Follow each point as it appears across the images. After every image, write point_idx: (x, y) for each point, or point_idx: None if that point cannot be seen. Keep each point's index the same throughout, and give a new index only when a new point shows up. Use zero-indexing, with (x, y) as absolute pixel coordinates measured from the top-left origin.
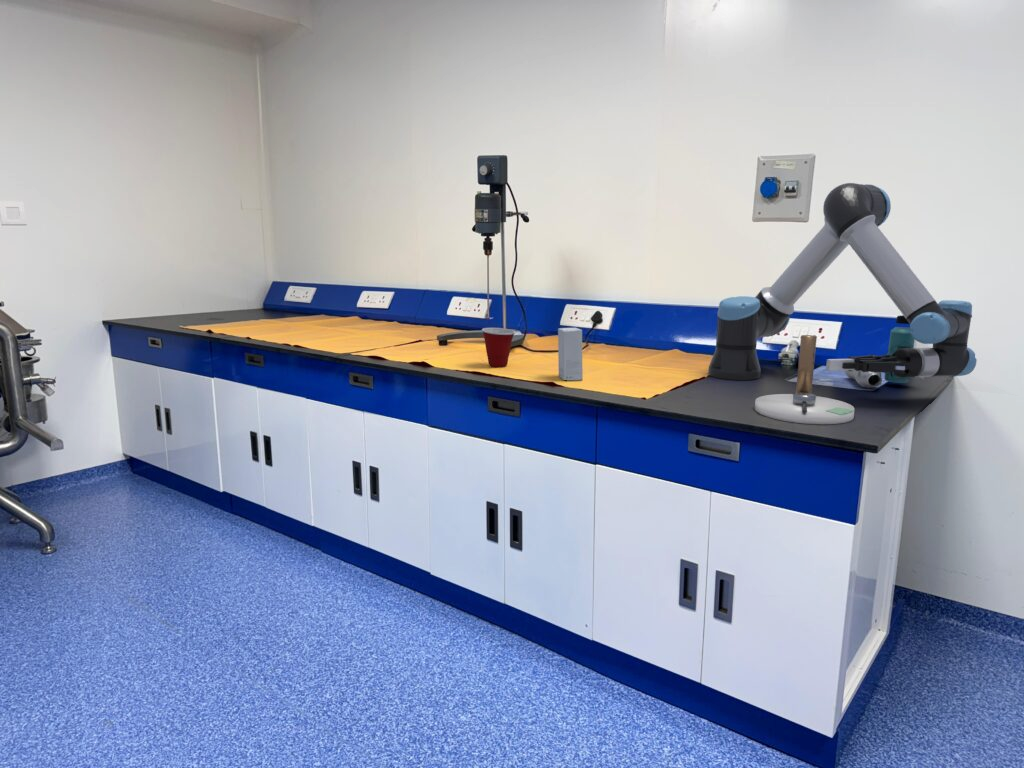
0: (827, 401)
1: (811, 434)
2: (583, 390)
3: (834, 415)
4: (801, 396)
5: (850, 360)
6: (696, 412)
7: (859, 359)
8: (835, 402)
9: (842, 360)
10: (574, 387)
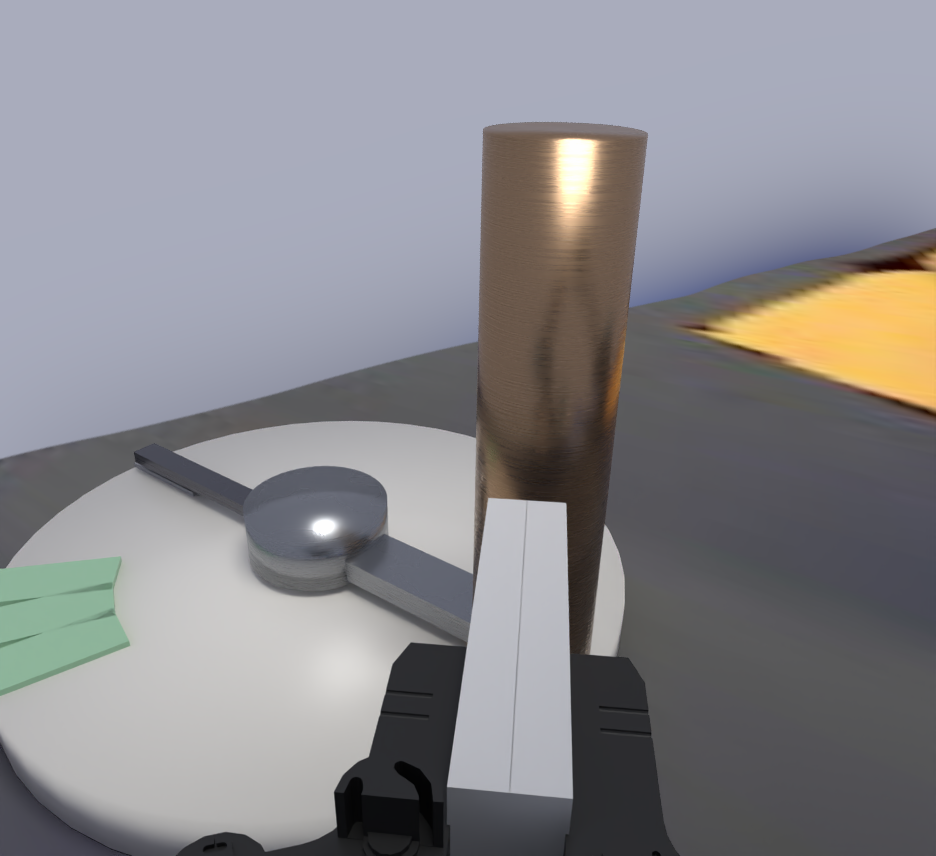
0: (313, 711)
1: (14, 458)
2: (814, 283)
3: (22, 548)
4: (288, 473)
5: (456, 727)
6: (477, 356)
7: (342, 807)
8: (255, 744)
9: (473, 616)
10: (857, 280)
